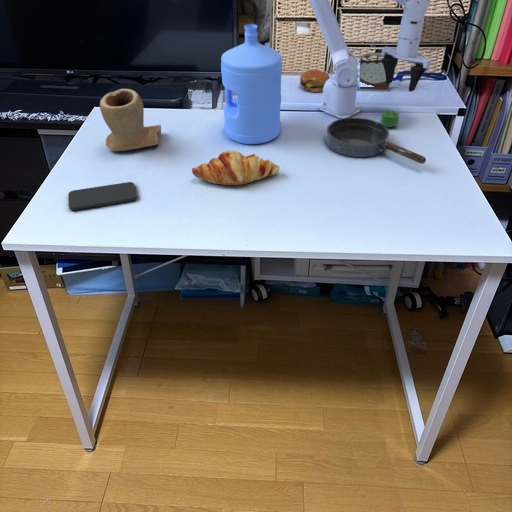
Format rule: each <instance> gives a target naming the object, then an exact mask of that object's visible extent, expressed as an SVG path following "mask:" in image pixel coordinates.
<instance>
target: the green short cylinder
mask: <svg viewBox="0 0 512 512" xmlns="http://www.w3.org/2000/svg"><path fill="white" fill-rule="evenodd" d="M399 119H400V113H399V112H398V111H396V110H392V109H391V110H389V109H387V110H383V111H382V112H381V117H380V123H381V124H382V125H384V126H385V127H386V128H393V127H395V126H398V123H399Z"/></svg>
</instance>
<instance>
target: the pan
mask: <svg viewBox="0 0 512 512" xmlns="http://www.w3.org/2000/svg"><path fill="white" fill-rule="evenodd" d="M389 137H390V131H389V129H388V127H386V126H385V125H383V124H381V122H379V121H377V120H374V119H370V118H365V117H355V116H353V117H352V116H350V117H348V118H342V119H341V118H339V119H336V120H333V121H332V122H330V123H329V124H328V126H327V127H326V135H325V141H326V142H325V143H326V145H327V146H328V147H329V148H330V149H331V150H332V151H333V152H335V153H338V154H340V155H343V156H346V157H351V158H369V157H374V156H377V155H379V154H381V153H383V152H385V150H382V149H380V145H381V143H383V142H385V141H386V142H389Z"/></svg>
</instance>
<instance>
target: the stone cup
mask: <svg viewBox="0 0 512 512" xmlns="http://www.w3.org/2000/svg"><path fill="white" fill-rule="evenodd" d="M99 109H100V113H101V116H102V119H103V121H104V123H105V125H106V126H107V127H108V129H109V130H110V131H111V133H109V134H108V135H107V137H106V139H105V146H106V148H107V149H108V150H110V151H112V152H125V151H131V150H137V149H141V148H142V149H143V148H148V147H153V146H157V145H158V144H159V143H160V139H161V136H162V125H161V124H156V125H150V126H145V125H144V123H145V122H144V117H145V116H144V114H145V113H144V112H145V110H144V103H143V100H142V97H140V95H139V94H138V92H136V91H135V90H133V89H130V88H120V89H117V90H114V91H110V92H108V93H106V94H105V95H104V96H103V97H102V98H101V99H100V101H99Z"/></svg>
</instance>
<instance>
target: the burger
mask: <svg viewBox="0 0 512 512" xmlns="http://www.w3.org/2000/svg"><path fill="white" fill-rule="evenodd" d="M329 78H330V75H329V73H326V72H325V71H323V70H320V69H308V70H306V71H305V72H302V73H301V75H300V76H299V80H300V81H299V82H300V83H299V85H301V87H302V89H304V90H305V91H309V92H311V93H323V87H324V85H325V83H326V81H327V80H328V79H329Z"/></svg>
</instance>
